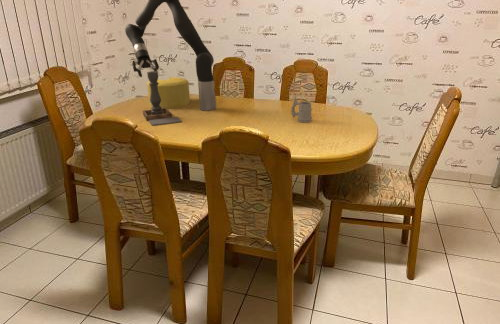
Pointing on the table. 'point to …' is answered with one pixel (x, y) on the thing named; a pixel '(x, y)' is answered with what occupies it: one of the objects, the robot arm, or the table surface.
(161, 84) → the cheese
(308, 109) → the mug
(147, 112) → the walnut frame
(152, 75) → the candle holder
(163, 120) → the rubber mat
